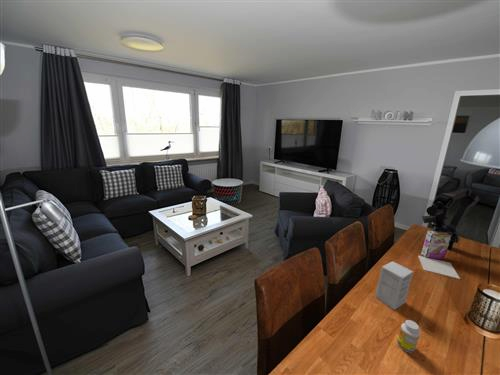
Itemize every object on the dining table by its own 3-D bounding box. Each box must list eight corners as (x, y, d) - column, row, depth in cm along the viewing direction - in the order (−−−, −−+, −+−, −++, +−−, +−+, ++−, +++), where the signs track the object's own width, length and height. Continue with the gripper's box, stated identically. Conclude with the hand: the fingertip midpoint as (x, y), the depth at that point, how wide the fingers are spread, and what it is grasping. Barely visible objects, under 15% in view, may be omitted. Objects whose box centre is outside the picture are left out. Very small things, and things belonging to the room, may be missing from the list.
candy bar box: (425, 258, 140) (432, 233, 136) (420, 254, 145) (426, 230, 141) (445, 260, 139) (452, 235, 135) (439, 255, 144) (445, 231, 140)
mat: (418, 256, 143) (418, 255, 142) (450, 263, 136) (450, 263, 136) (424, 270, 129) (424, 269, 129) (460, 279, 122) (460, 278, 122)
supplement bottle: (397, 336, 87) (404, 315, 84) (415, 345, 84) (422, 323, 81) (395, 346, 83) (401, 324, 80) (413, 356, 80) (421, 334, 77)
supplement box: (405, 303, 104) (414, 271, 99) (395, 310, 99) (403, 278, 95) (384, 289, 112) (392, 260, 107) (374, 296, 107) (381, 265, 103)
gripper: (421, 206, 152) (416, 227, 157) (428, 216, 136) (422, 239, 140) (442, 210, 148) (436, 231, 152) (452, 220, 131) (444, 244, 136)
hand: (434, 236), depth 145 cm, fingers closed
